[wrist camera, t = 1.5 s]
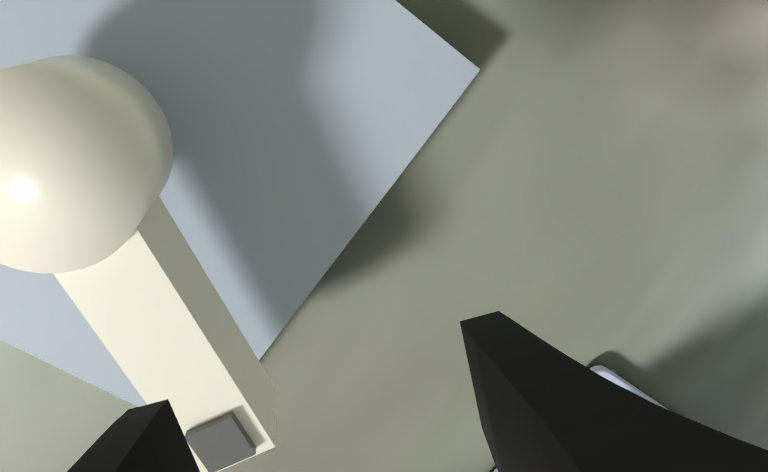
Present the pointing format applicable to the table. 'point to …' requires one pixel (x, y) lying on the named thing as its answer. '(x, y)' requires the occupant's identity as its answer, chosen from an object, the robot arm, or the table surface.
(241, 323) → the board
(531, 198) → the table surface
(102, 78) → the cream knobbed bar
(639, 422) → the robot arm
